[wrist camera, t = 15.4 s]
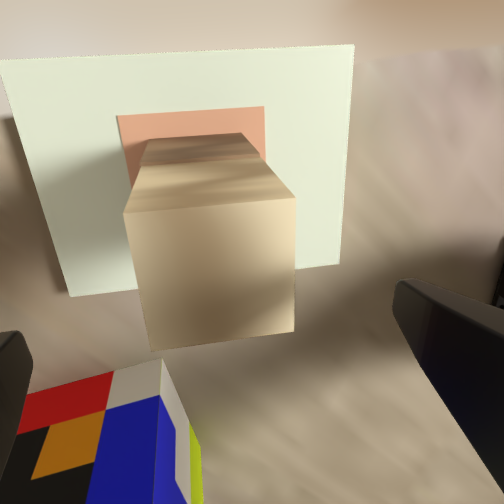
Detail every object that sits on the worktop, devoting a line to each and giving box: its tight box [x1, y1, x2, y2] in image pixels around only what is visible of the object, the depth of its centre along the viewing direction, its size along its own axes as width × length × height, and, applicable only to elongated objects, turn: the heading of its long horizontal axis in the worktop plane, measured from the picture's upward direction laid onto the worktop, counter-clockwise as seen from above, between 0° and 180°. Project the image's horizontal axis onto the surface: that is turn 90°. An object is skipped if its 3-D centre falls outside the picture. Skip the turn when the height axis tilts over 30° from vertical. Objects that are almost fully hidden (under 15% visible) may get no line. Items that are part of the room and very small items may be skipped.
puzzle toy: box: [0, 358, 203, 504], centre depth 23 cm, size 10×10×10 cm
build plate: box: [0, 44, 355, 297], centre depth 20 cm, size 16×12×1 cm
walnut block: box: [140, 133, 260, 168], centre depth 17 cm, size 4×4×5 cm
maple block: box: [123, 157, 296, 352], centre depth 13 cm, size 4×4×5 cm
